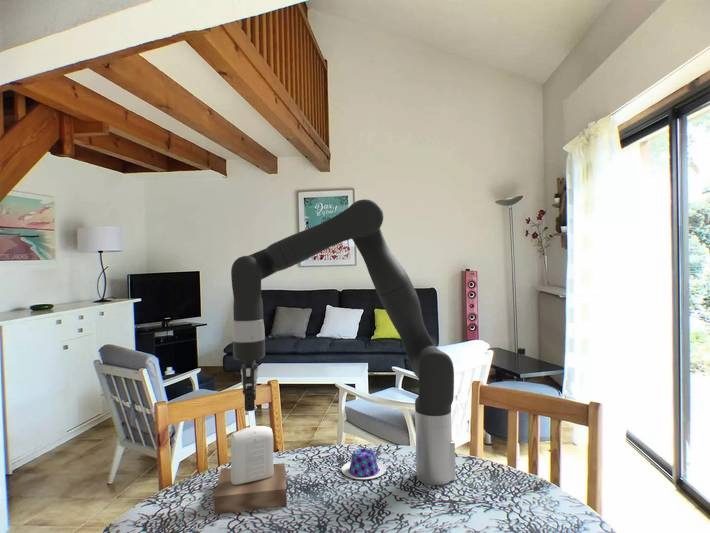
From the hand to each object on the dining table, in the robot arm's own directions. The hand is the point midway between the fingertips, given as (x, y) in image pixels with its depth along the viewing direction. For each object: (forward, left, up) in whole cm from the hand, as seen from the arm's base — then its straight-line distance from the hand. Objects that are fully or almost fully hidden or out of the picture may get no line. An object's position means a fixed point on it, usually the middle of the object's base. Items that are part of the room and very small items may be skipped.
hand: (250, 405), depth 108 cm
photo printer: (0, 0, -18) cm, 18 cm away
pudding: (-29, -7, -22) cm, 37 cm away
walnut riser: (0, 0, -22) cm, 22 cm away
